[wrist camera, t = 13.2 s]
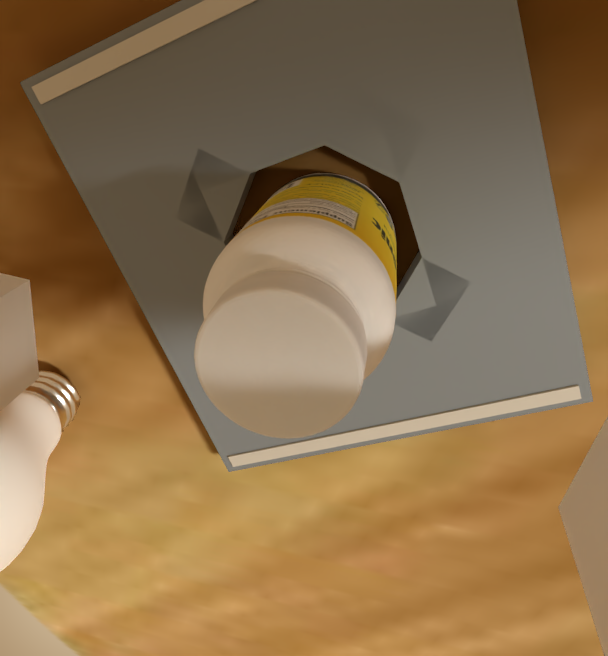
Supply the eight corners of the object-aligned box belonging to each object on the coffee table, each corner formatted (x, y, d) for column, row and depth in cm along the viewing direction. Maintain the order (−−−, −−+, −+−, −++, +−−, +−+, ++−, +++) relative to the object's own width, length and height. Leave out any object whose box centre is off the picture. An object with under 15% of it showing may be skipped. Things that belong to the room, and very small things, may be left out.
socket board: (481, -141, 15) (487, -157, 14) (583, 384, 22) (593, 402, 21) (40, 81, 20) (17, 82, 19) (235, 455, 27) (228, 473, 25)
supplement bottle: (386, 312, 22) (374, 482, 13) (256, 293, 22) (163, 443, 14) (410, 178, 19) (414, 278, 11) (262, 160, 20) (154, 242, 11)
